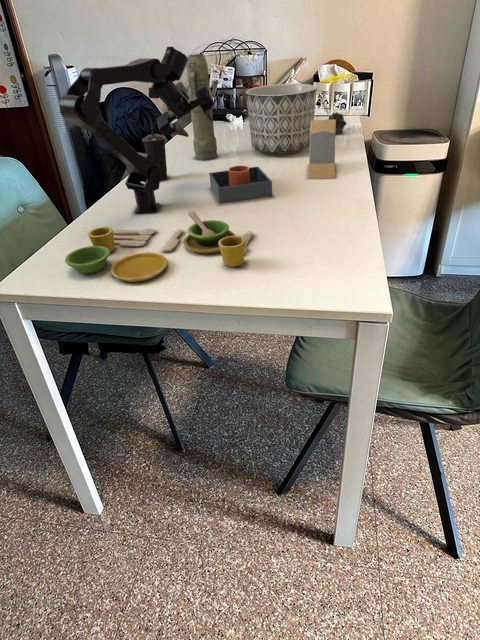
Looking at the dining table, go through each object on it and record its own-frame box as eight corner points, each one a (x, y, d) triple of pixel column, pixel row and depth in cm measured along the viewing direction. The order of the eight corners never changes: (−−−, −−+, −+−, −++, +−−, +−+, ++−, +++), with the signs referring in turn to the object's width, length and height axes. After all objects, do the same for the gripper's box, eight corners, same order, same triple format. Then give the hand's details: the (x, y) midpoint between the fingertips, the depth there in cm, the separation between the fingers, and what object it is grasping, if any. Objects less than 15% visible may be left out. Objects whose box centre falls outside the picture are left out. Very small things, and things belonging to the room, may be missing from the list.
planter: (275, 164, 163) (274, 97, 150) (236, 151, 181) (232, 91, 169) (328, 149, 174) (331, 86, 161) (287, 138, 192) (286, 81, 180)
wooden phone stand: (308, 178, 147) (309, 130, 139) (309, 165, 160) (310, 119, 151) (335, 178, 146) (337, 129, 137) (333, 164, 158) (336, 118, 150)
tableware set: (259, 234, 114) (258, 210, 111) (235, 290, 92) (233, 263, 89) (111, 229, 123) (105, 207, 119) (57, 280, 101) (48, 255, 97)
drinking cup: (167, 182, 154) (157, 120, 142) (146, 182, 155) (134, 120, 144) (174, 175, 160) (165, 115, 148) (154, 175, 161) (143, 115, 150)
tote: (272, 197, 135) (271, 181, 132) (219, 205, 133) (218, 188, 130) (258, 181, 148) (258, 166, 145) (210, 188, 146) (209, 172, 143)
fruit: (330, 106, 198) (330, 112, 185) (348, 112, 198) (349, 118, 186) (323, 126, 203) (323, 133, 190) (340, 132, 203) (341, 139, 191)
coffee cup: (250, 194, 137) (249, 171, 133) (230, 195, 138) (228, 172, 134) (250, 187, 143) (248, 164, 139) (230, 188, 143) (228, 166, 139)
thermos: (191, 161, 173) (178, 57, 153) (199, 153, 182) (188, 54, 162) (214, 161, 171) (203, 55, 151) (220, 152, 181) (211, 52, 161)
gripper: (192, 57, 127) (219, 94, 141) (141, 92, 134) (172, 124, 148) (199, 84, 123) (227, 119, 137) (146, 120, 130) (177, 150, 143)
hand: (200, 128), depth 141 cm, fingers open, 9 cm apart
